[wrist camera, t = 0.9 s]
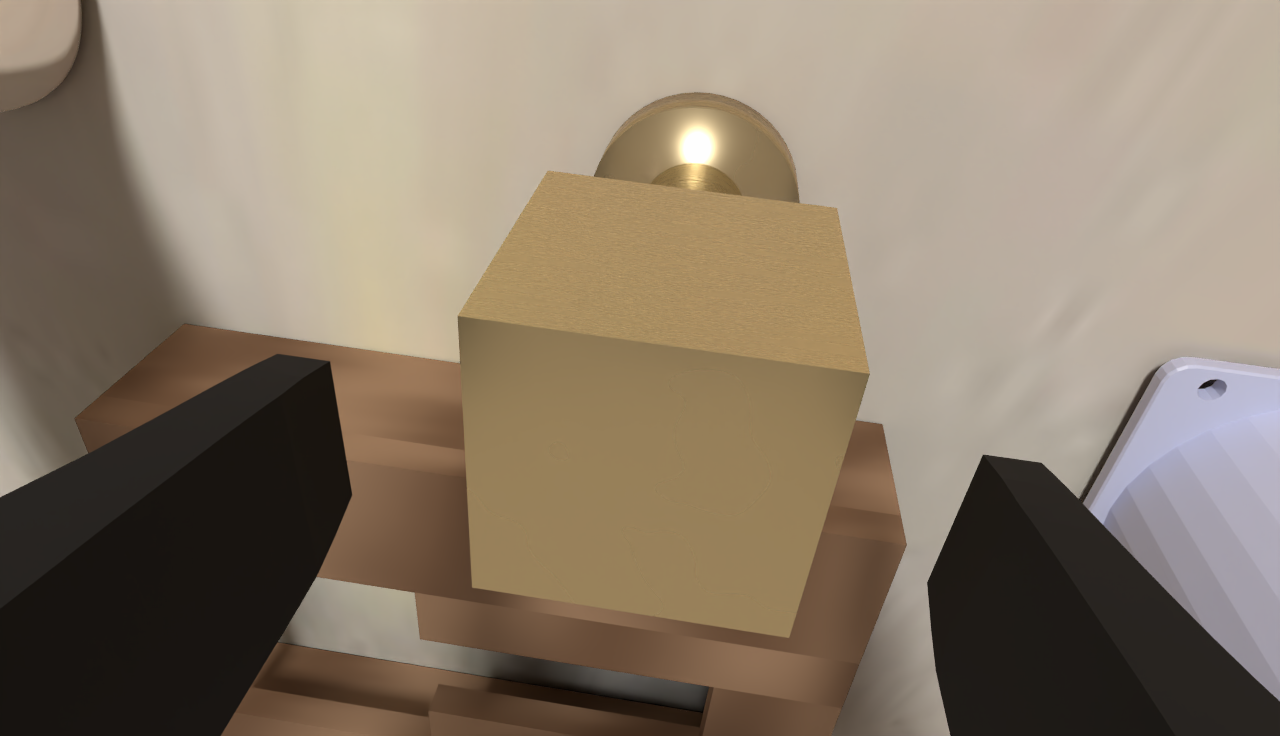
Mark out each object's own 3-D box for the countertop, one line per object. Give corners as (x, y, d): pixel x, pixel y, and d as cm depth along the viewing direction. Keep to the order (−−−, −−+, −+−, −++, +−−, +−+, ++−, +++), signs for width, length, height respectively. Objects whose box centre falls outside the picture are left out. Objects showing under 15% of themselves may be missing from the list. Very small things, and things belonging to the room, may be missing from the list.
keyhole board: (882, 424, 19) (906, 544, 15) (774, 751, 27) (775, 874, 23) (184, 323, 20) (74, 418, 16) (281, 668, 27) (220, 776, 24)
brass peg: (816, 106, 15) (870, 374, 8) (777, 294, 17) (788, 638, 10) (603, 80, 15) (457, 315, 8) (592, 269, 17) (471, 587, 10)
